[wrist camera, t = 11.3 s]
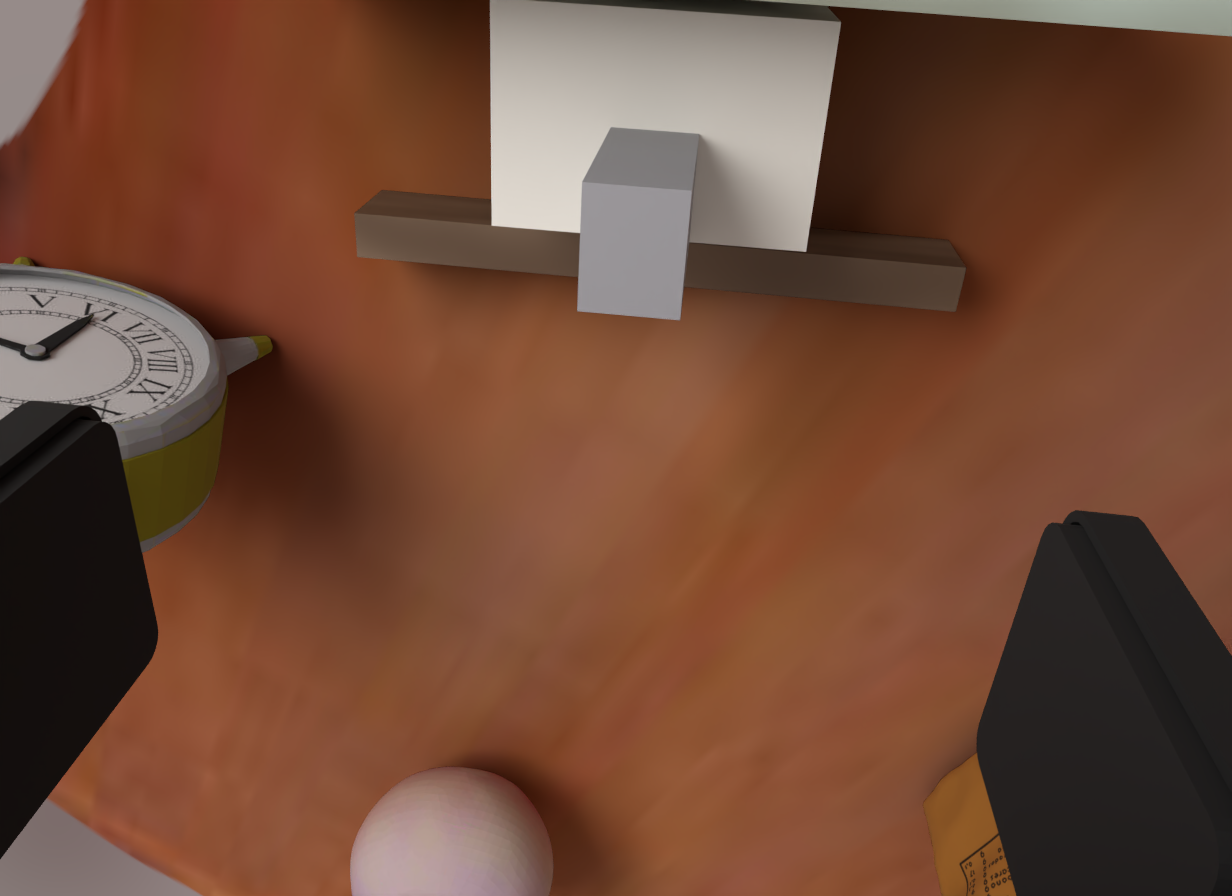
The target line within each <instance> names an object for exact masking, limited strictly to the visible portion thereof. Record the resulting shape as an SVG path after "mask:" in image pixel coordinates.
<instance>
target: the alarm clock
mask: <svg viewBox="0 0 1232 896" xmlns="http://www.w3.org/2000/svg"><path fill="white" fill-rule="evenodd" d="M272 348H273V347H272V343H271V340H270V338H269V337H268V336H265V335H264V336H250V337H242V338H231V339H220V340H214V339H213V338H212V337H211V335H210V334H209V333H208V332H207V331H206V330H205V329H204V327H203V326H202V325H201V324H200V323H199V322H198V321H197V320H196V319H195V318H193V317H192V316H190V315H189V314H188V313H186V312H185V311H183V310H182V309H180V308H179V307H177V306H176V305H174V304H172V303H170V302H169V301H167V300H165V299H164V298H162V297H160V296H157V295H155V294H152V293H149V292H147V291H144V290H142V289H139V288H137V287H134V286H132V285H129V284H126V283H122V282H118V281H114V280H110V279H106V278H102V277H98V276H94V275H90V274H87V273H83V272H79V271H75V270H65V269H55V268H45V267H35V265H34V263H33V262H32V260H31V259H29V258H27V257H20V258H17V259H16V260H15V261H14V263H13V264H6V263H5V264H0V420H1V419H2V418H3V417H5V416H6V415H8V414H9V413H10V412H12V411H13V410H15V409H16V408H17V407H19V406H20V405H22V404H24V403H26V402H28V401H45V402H54V403H64V404H73V405H83V406H89V407H91V408H92V409H94V410H96V412H97V413H98V414H99V416H100V417H101V420H102V422H107V423H108V424H110V425H111V426H112V427H113V429H114V430H115V432H116V435H117V438H118V443H119V448H120V452H121V457H122V462H123V466H124V471H125V476H126V481H127V485H128V490H129V495H130V499H131V504H132V509H133V513H134V518H135V523H136V527H137V532H138V537H139V541H140V546H141V551H142V553H143V552H145V551H148V550H150V549H151V548H153V547H155V546H156V545H158V544H159V543H161V542H163V541H164V540H166V539H167V538H169V537H171V536H172V535H174V534H175V533H177V532H178V531H179V530H181V529H182V528H183V527H184V526H185V525H186V524H187V523H188V522H189V521H190V520H192V519H193V518H194V517H195V516H196V515H197V514H198V513H199V511H200V509H201V508H202V506H203V505H204V503H205V502H206V500H207V499H208V497H209V495H210V491H211V489H212V487H213V486H214V482H215V478H216V474H217V470H218V465H219V458H220V450H221V442H222V434H223V427H224V419H225V411H226V403H227V396H228V388H229V387H228V380H227V375H229V374H231V373H233V372H235V371H236V370H238V369H240V368H242V367H244V366H245V365H247V364H249V363H251V362H253V361H254V360H255V361H256V360H258V359H259V358H261V357H263V356H264V355H266V354H268V353H270V352H271V351H272Z"/></svg>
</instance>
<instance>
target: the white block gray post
mask: <svg viewBox="0 0 1232 896" xmlns="http://www.w3.org/2000/svg"><path fill="white" fill-rule="evenodd" d="M840 26H841V21H840V20H839V19H838V18H837V17H836V16H835V15H834V14H833V12H832V11H831V10H830V9H829V8H828V7H827V6H824V5H810V4H797V3H784V2H770V1H757V0H490V75H491V203H492V226H501V227H513V228H525V229H537V230H549V231H561V232H573V233H580V251H579V278H578V305H577V311H582V312H593V313H604V314H616V315H627V316H638V317H649V318H661V319H672V320H680V316H681V308H682V300H683V291H684V283H685V274H686V266H687V258H688V249H689V242H693V243H705V244H717V245H729V246H741V247H753V248H765V249H777V250H789V251H801V252H806V249H807V242H808V236H809V229H810V223H811V216H812V210H813V203H814V196H815V190H816V183H817V177H818V170H819V164H820V157H821V151H822V144H823V138H824V131H825V125H826V118H827V111H828V105H829V98H830V92H831V85H832V79H833V72H834V66H835V59H836V53H837V46H838V40H839V33H840Z"/></svg>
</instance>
